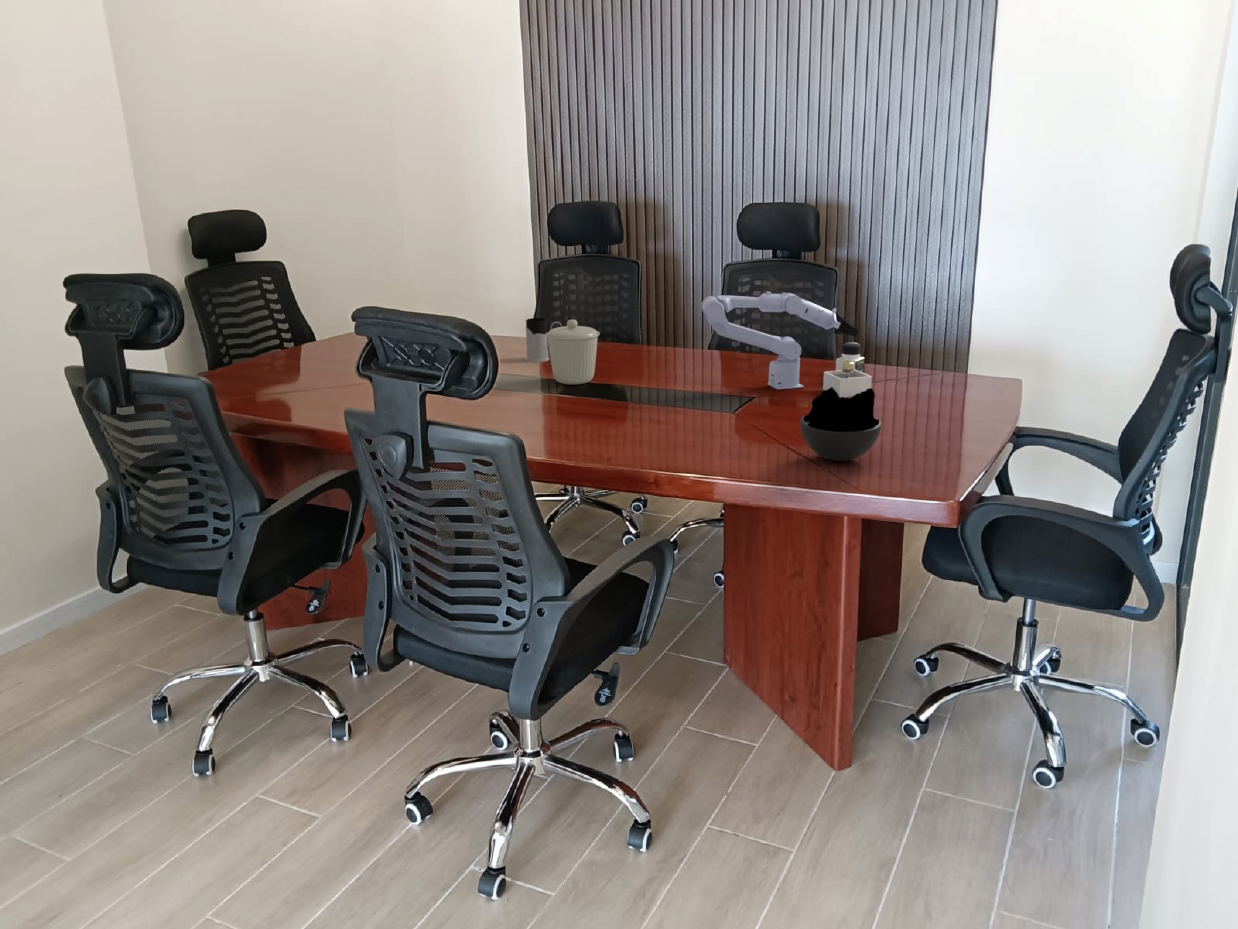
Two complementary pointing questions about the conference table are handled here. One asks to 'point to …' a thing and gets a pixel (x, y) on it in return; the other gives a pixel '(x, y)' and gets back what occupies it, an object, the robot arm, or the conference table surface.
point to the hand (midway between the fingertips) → (853, 330)
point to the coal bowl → (841, 425)
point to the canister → (573, 353)
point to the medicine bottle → (851, 356)
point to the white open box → (847, 383)
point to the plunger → (847, 370)
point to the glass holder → (537, 340)
